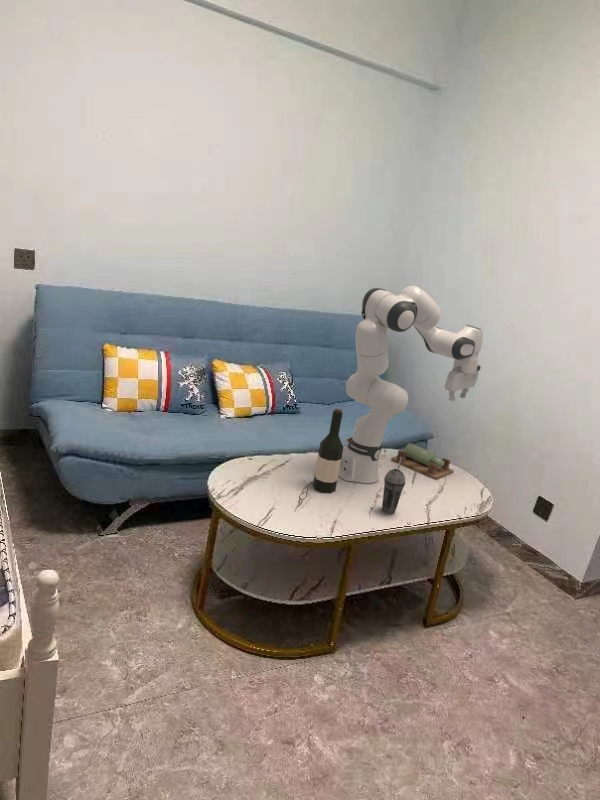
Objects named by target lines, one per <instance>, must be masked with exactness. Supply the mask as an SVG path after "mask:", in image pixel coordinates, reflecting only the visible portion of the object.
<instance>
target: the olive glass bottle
mask: <svg viewBox="0 0 600 800" xmlns="http://www.w3.org/2000/svg"><path fill="white" fill-rule="evenodd" d="M403 451H405V452H406V457H407V458H410V459H412V460H415V461H417V462H419V463H422V464H424V465H426V466H429V464H430V463H434V464H436V465H438V466H439V467H441V468H442V467H443V466H444V464H445V462H444V461H442V459H440V458H437V453H435V452H433V451H431V450H428V449H425V448H422V447H420V446H418V445H415V444H412V443H410V442H409V443H407V444H406V445H405V448H404V450H403Z"/></svg>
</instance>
